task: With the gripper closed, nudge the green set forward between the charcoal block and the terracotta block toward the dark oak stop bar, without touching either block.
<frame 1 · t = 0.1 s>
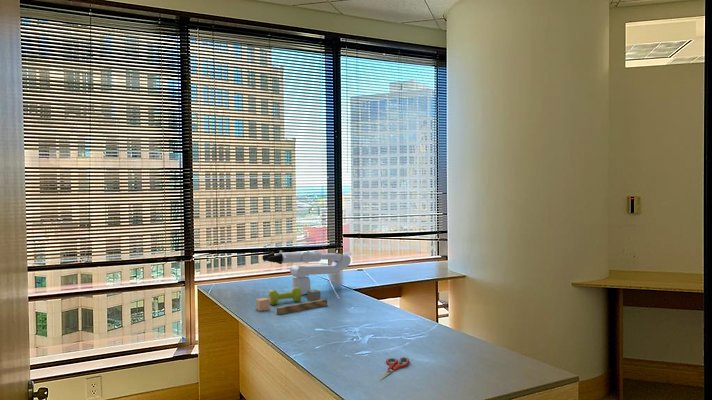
hand: (265, 258, 262), 22 cm above the table, tool horizontal, fingers open, 7 cm apart
dumbbell: (285, 303, 253), on the table
stop bar: (302, 309, 236), on the table
charcoal block: (314, 300, 255), on the table
terracotta block: (263, 309, 240), on the table
scissors: (393, 373, 153), on the table
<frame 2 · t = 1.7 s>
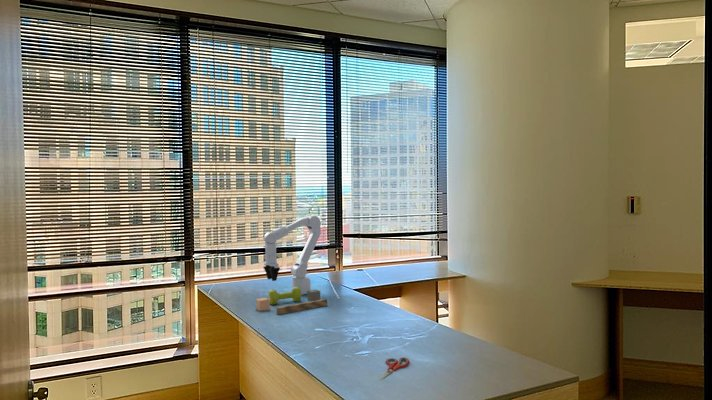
hand: (272, 279, 266), 9 cm above the table, tool pointing down, fingers open, 6 cm apart
nothing on the table moved.
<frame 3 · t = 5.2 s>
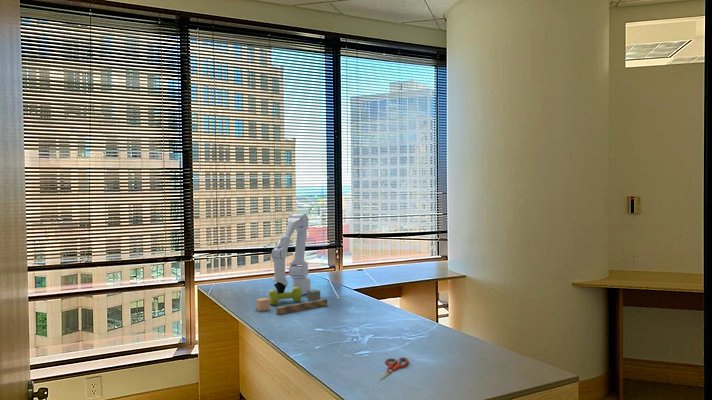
hand: (280, 296, 257), 2 cm above the table, tool pointing down, fingers closed
dumbbell: (285, 303, 253), on the table, touching gripper
everything else where it was.
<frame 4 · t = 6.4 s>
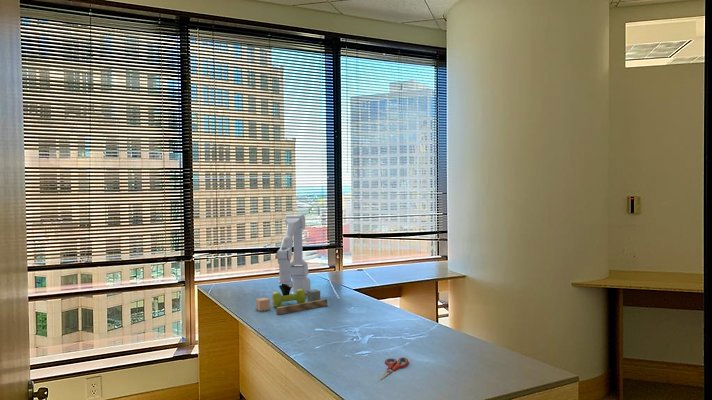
hand: (286, 299, 252), 2 cm above the table, tool pointing down, fingers closed
dumbbell: (289, 305, 247), on the table
everything else where it was.
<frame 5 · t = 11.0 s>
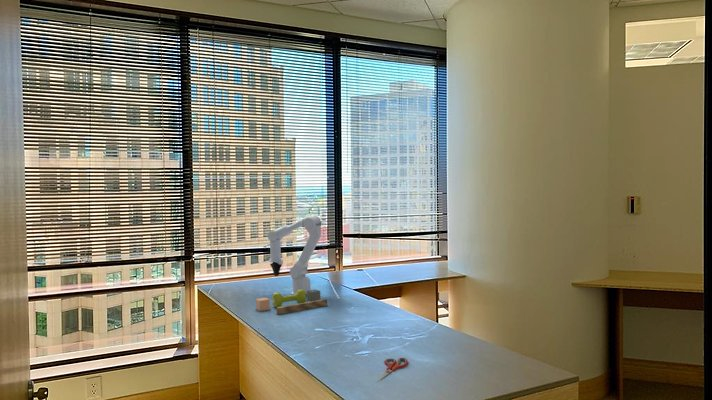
hand: (276, 275, 278), 9 cm above the table, tool pointing down, fingers closed
nothing on the table moved.
at the end: dumbbell inside the target area (2.0 cm from its centre), on the table; charcoal block moved 0.1 cm from its start; terracotta block moved 0.1 cm from its start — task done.
